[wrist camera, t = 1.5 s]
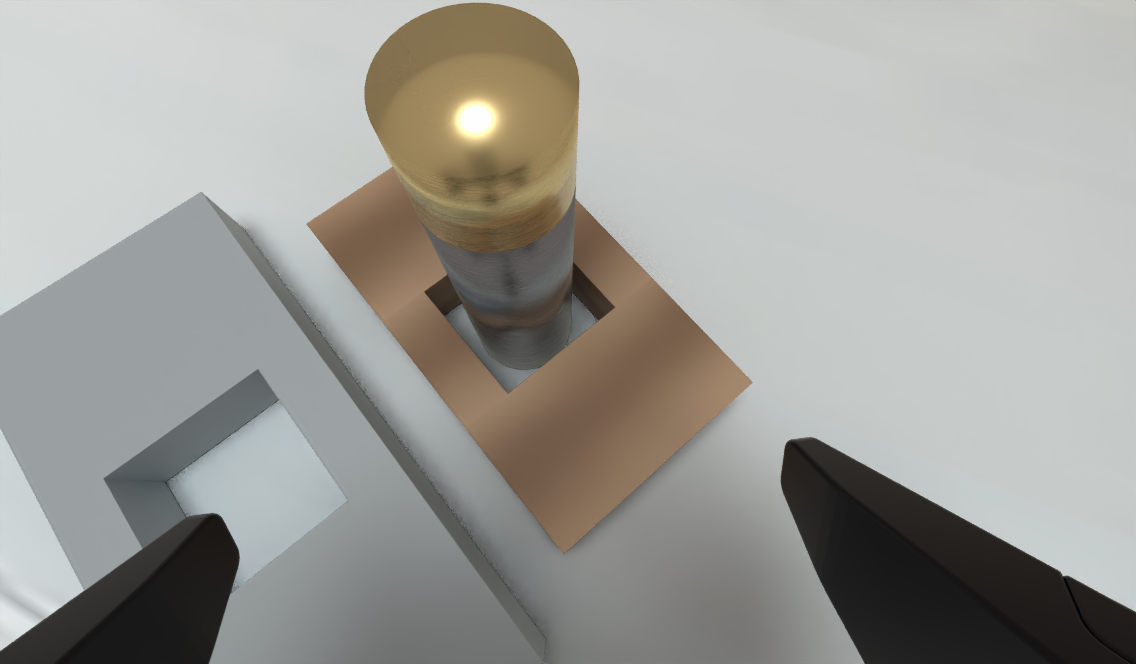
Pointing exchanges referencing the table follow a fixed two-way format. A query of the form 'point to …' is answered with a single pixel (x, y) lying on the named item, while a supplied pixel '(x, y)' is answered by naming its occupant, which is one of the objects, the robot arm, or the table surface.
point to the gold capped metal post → (488, 164)
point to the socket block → (565, 383)
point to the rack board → (209, 415)
